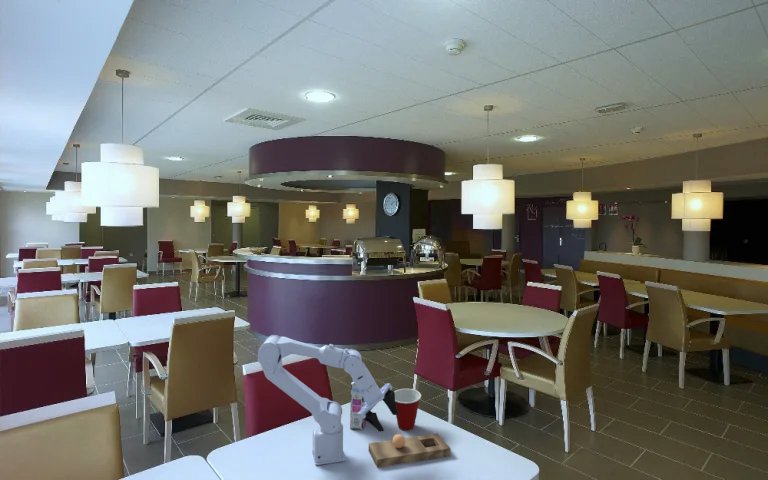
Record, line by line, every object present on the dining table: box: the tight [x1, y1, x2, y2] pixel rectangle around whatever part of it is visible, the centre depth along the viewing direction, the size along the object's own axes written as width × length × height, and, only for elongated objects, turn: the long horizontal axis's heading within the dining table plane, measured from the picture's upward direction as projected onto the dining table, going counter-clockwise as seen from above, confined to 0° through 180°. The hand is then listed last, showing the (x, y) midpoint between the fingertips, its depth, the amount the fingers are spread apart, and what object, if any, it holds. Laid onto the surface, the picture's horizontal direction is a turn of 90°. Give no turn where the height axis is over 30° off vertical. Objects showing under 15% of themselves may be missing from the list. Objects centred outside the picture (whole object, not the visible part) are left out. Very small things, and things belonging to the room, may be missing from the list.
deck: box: [368, 433, 451, 469], centre depth 138 cm, size 24×10×2 cm, turn 107°
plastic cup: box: [393, 388, 422, 431], centre depth 155 cm, size 11×11×12 cm
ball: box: [391, 433, 406, 448], centre depth 137 cm, size 4×4×4 cm
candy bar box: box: [349, 380, 367, 431], centre depth 159 cm, size 11×5×16 cm, turn 172°
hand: (388, 422), depth 136 cm, fingers open, 7 cm apart
